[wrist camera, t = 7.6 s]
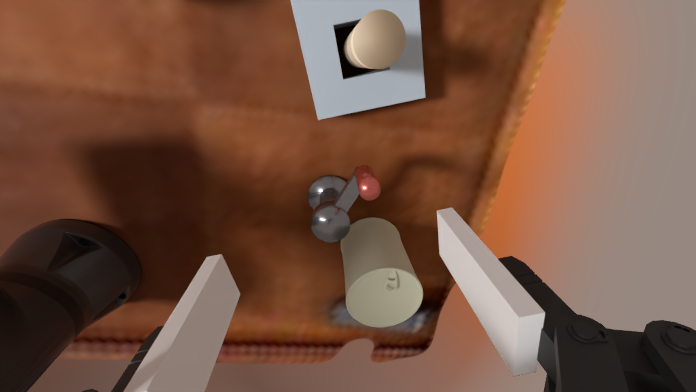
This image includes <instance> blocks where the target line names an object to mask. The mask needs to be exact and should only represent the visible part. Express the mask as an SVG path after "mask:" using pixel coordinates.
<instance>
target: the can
mask: <svg viewBox="0 0 696 392" xmlns="http://www.w3.org/2000/svg"><path fill="white" fill-rule="evenodd" d="M341 252H342V256H343V265H344V276H345V289H346V307H347V310H348V312H349V313H350V315H351V316H352V317H353V318H354V319H355V320H356V321H358V322H360V323H362V324H364V325H367V326H371V327H389V326H393V325H396V324H399V323H401V322H403V321H405V320H407V319H408V318H410V317H411V316H412V315H413V314H414V313H415V312H416V311H417V310H418V308H419V307H420V305H421V302H422V299H423V289H422V285H421V283H420V281H419V280H418V278H417V276H416V274H415V272H414V269H413V267H412V265H411V263H410V260H409V258H408V256H407V253H406V251H405V249H404V246H403V244H402V242H401V238H400V234H399V232H398V230H397V228H396V227H395V226H394V225H393V224H392V223H390V222H389V221H387V220H384V219H381V218H375V217H371V218H364V219H361V220H358V221H356V222H355V223H353V224H352V225H350V230H349V233H348V234H347V235H346V236H345V237H344V238H343V239H341Z"/></svg>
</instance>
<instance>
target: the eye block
mask: <svg viewBox="0 0 696 392" xmlns="http://www.w3.org/2000/svg"><path fill="white" fill-rule="evenodd" d="M291 4H292V9H293V13H294V17H295V22H296V26H297V30H298V35H299V39H300V43H301V48H302V52H303V56H304V61H305V65H306V69H307V74H308V78H309V82H310V87H311V91H312V95H313V100H314V104H315V108H316V113H317V117H318V120H320V119H325V118H330V117H334V116H339V115H344V114H349V113H354V112H359V111H363V110H368V109H373V108H378V107H383V106H388V105H392V104H397V103H402V102H407V101H412V100H417V99H421V98H425V83H424V69H423V54H422V39H421V24H420V10H419V0H291ZM379 9H382V10H388V11H390V12H392V13H394V14H395V15H396V16H397V17H398V18H399V19H400V20H401V22H402V24H403V26H404V29H405V34H406V42H405V47H404V50H403V53H402V54H401V56H400V58H399V59H398V60H397V61H396V62H395V63H394V64H393V65H391V66H389V67H387V68H384V69H382V70H377V71H373V72H368V73H363V74H358V75H354V76H349V77H344V78H343V76H342V70H341V65H340V59H339V54H338V48H337V43H336V37H335V32H334V29H338V28H343V27H347V26H352V25H357V24H358V23H359V22H360V20H361V19H362V18H363V17H364V16H365V15H366V14H368V13H369V12H371V11H374V10H379Z"/></svg>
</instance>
